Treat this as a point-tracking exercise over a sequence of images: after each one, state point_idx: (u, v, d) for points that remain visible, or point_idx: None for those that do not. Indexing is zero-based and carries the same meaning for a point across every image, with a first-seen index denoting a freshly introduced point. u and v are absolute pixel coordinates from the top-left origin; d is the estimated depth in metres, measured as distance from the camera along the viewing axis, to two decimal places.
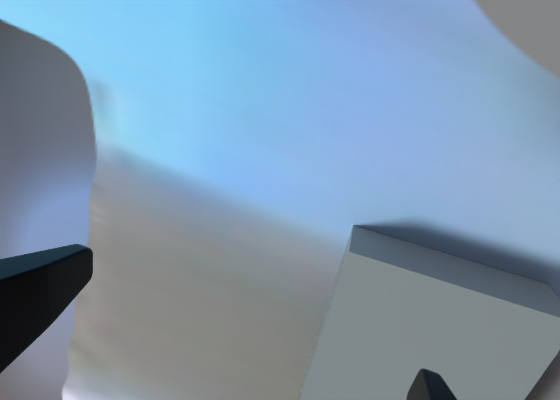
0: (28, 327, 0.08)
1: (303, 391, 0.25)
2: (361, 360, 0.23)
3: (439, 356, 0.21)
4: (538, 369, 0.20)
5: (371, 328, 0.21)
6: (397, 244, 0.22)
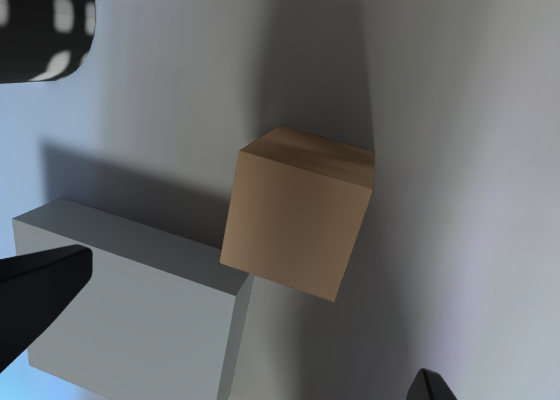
0: (28, 327, 0.08)
1: None
2: (117, 372, 0.23)
3: (86, 314, 0.22)
4: (63, 241, 0.20)
5: (83, 360, 0.24)
6: None
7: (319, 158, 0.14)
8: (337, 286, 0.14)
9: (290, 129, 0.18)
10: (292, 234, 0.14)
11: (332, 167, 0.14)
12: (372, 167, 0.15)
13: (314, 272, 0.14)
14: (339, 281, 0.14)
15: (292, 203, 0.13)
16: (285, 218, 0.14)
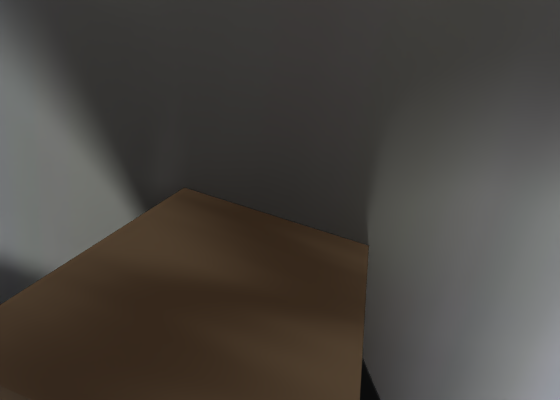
0: None
1: None
2: None
3: None
4: None
5: None
6: None
7: (217, 321, 0.05)
8: None
9: (200, 199, 0.09)
10: None
11: (237, 375, 0.05)
12: (359, 332, 0.06)
13: None
14: None
15: None
16: None
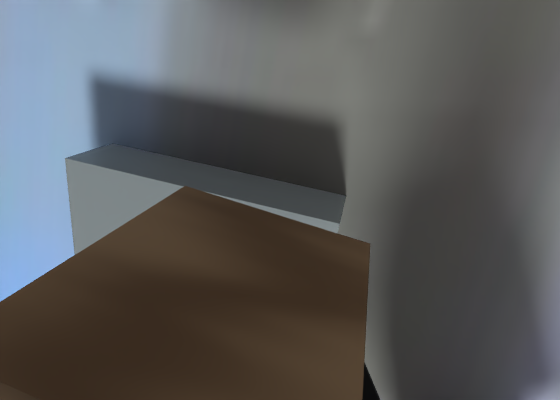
0: None
1: None
2: None
3: None
4: (126, 178, 0.18)
5: None
6: None
7: (218, 319, 0.05)
8: None
9: (201, 197, 0.09)
10: None
11: (239, 372, 0.05)
12: (361, 330, 0.06)
13: None
14: None
15: None
16: None
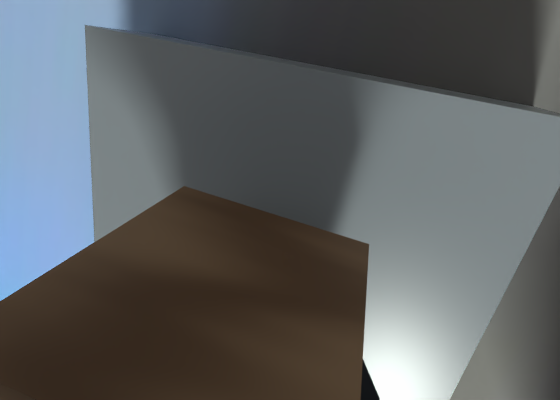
0: None
1: None
2: None
3: None
4: (188, 56, 0.10)
5: None
6: None
7: (216, 319, 0.05)
8: None
9: (200, 197, 0.09)
10: None
11: (237, 373, 0.05)
12: (359, 330, 0.06)
13: None
14: None
15: None
16: None
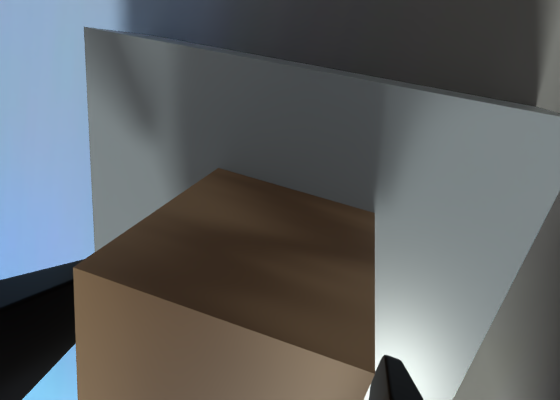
0: (60, 340, 0.08)
1: None
2: None
3: None
4: (188, 58, 0.10)
5: None
6: None
7: (265, 258, 0.07)
8: None
9: (233, 176, 0.11)
10: None
11: (286, 289, 0.06)
12: (371, 268, 0.08)
13: None
14: None
15: (197, 377, 0.06)
16: None
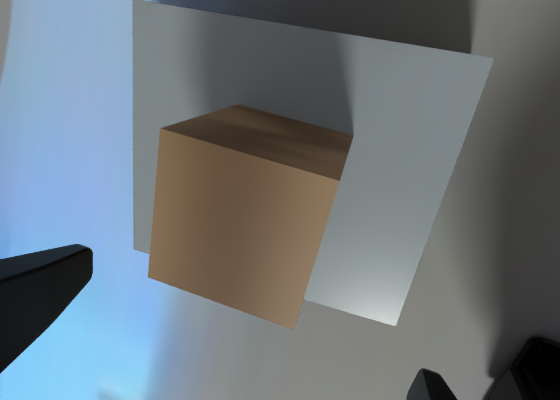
0: (28, 327, 0.08)
1: (344, 309, 0.17)
2: None
3: None
4: (211, 20, 0.14)
5: None
6: None
7: (274, 140, 0.11)
8: (297, 309, 0.11)
9: (249, 109, 0.15)
10: (235, 240, 0.10)
11: (289, 151, 0.10)
12: (345, 153, 0.11)
13: (267, 291, 0.11)
14: (299, 303, 0.11)
15: (233, 200, 0.10)
16: (226, 220, 0.10)
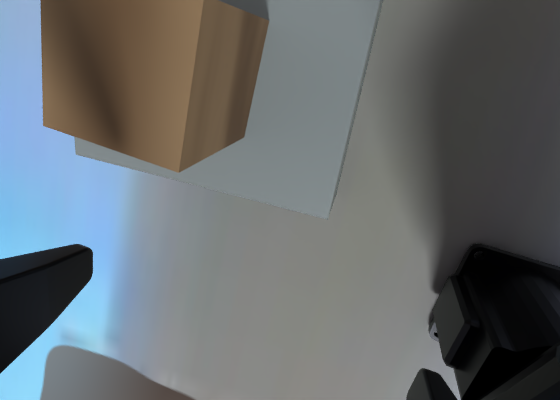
0: (28, 327, 0.08)
1: (278, 205, 0.17)
2: None
3: None
4: None
5: None
6: None
7: None
8: (179, 149, 0.11)
9: None
10: (118, 74, 0.11)
11: None
12: (240, 9, 0.12)
13: (150, 130, 0.11)
14: (181, 141, 0.11)
15: (112, 27, 0.10)
16: (107, 51, 0.10)
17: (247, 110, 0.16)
